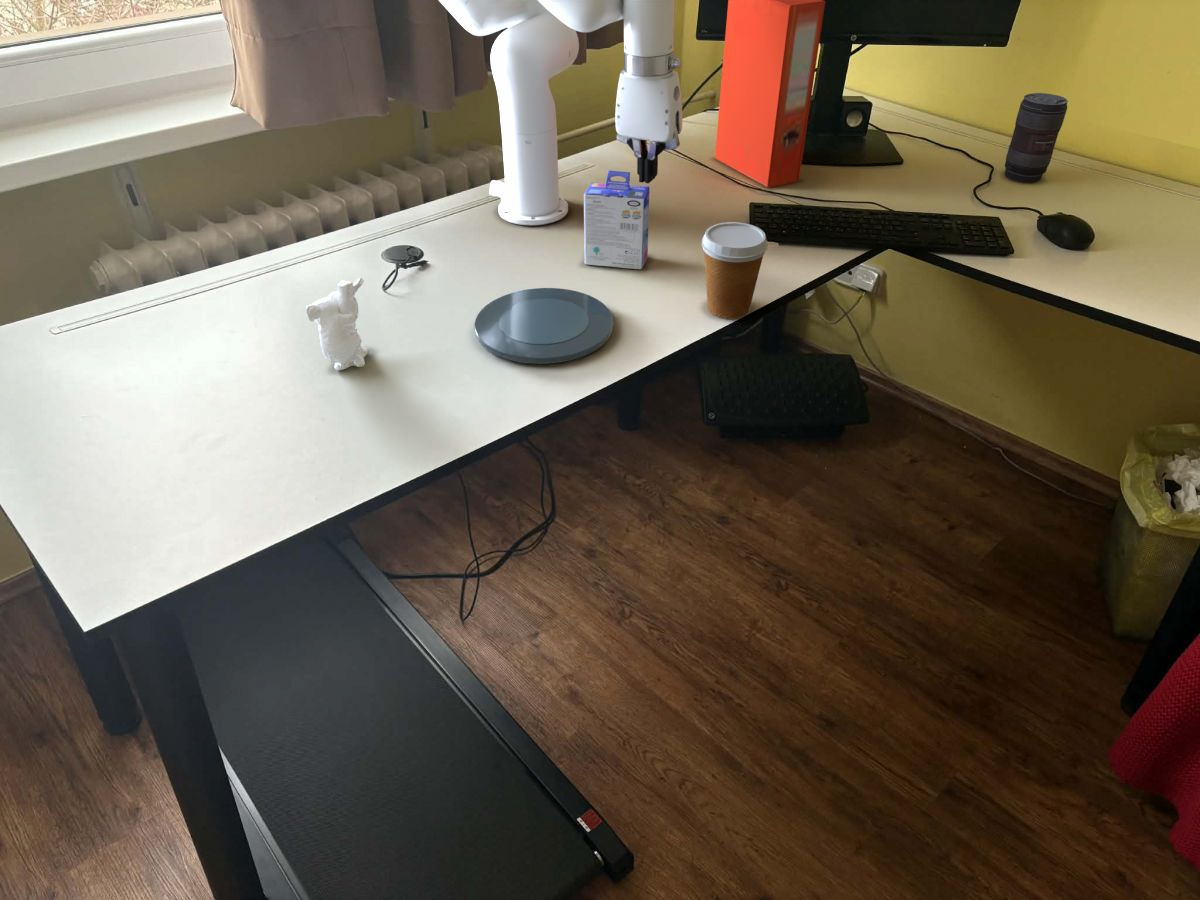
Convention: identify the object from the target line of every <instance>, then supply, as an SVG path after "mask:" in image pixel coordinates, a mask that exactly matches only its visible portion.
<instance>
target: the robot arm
mask: <svg viewBox="0 0 1200 900" xmlns="http://www.w3.org/2000/svg"><path fill="white" fill-rule="evenodd" d="M438 2H439V3H440V4H441V5H442V6H443V7H444V8H445V10H447V12H448V13H449V14H450V15H451V16H452V17H453V18H454V19H455V20H456V22H457V23H458V24H459V25H460V26H461V27H462V28H463V29H464V30H466V32H468V33H470V34H471V35H473V36H476V37H485V36H489V35H492V34H495V33H497V32H499V31H502V30H503V31H502V32H501V33H500V34H499V35H498V36H497V37H496V39H495V40H494V43H493V44H492V47H491V51H490V69H491V72H492V77H493V81H494V84H495V88H496V94H497V99H498V106H499V117H500V118H499V119H500V120H499V121H500V129H501V140H502V141H501V142H502V143H501V144H502V156H503V171H504V182H503V181H501V180H495V179H492V180H491V181H490V184H489V190H488V194H489V196H492V197H499V199H500V202H499V204H498V209H497V210H498V215H499V216H500V217H501V218H502V219H503V220H504V221H506V222H509V223H510V224H511V223H512V224H515V225H521V226H542V225H548V224H552V223H555V222H557V221H560V220H562V219H563V218H564V217H565V216H566V215H567V214H568V212H569V203H568V202H567V200H565V198H563V197H561V196H560V185H559V184H560V182H559V180H560V178H559V155H558V154H559V152H558V151H559V150H558V125H557V124H558V123H557V109H556V103H555V100H554V97H553V93H552V92H551V88H550V85H549V80H550V79H552V78H553V77H555V76H557V75H558V74H561V73H563V72H565V71H566V70H567V69H568V68H570V67H571V66H572V65H573V64H574V62H575V60H576V59H577V57H578V55H579V49H580V41H579V37H578V34H577V32H580V33H592V32H594V31H597V30H599V29H601V28H603V27H605V26H607V25H609V24H612V23H615V22H618V21H621V20H623V69H622V70H621V71H620V74H619V78H618V82H617V83H618V84H617V89H616V97H615V98H616V101H615V115H614V118H615V131H616V136H615V138H616V141H618V142H620V143H622V144H625V145H627V146H628V147H629V148H630V149H631V150H632V152H633V155H634V157H635V158H636V173H637V175H638V182H639V183H642V184H643V183H645V184H650V183H651V182H652V181H654V180H655V179H656V177H657V176H658V172H659V171H658V170H659V155H660V154H662V153H663V152H664V151H669V150H676V149H677V148H678V147H680V145H681V142H680V136H679V135H680V134H681V133H682V130H683V101H682V91H681V90H682V89H681V83H680V77H679V73H678V71H674V70H675V69H681V66H682V59H681V58H678V57H676V56H675V51H674V39H675V37H674V36H675V35H674V33H675V2H676V1H675V0H438ZM648 141H649V143H648Z"/></svg>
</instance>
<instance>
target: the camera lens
mask: <svg viewBox="0 0 1200 900" xmlns="http://www.w3.org/2000/svg"><path fill="white" fill-rule="evenodd" d="M1068 102H1069V101H1068V99H1067V98H1066V97H1064V96H1061V95H1057V94H1052V93H1047V92H1046V93H1044V92H1032V93H1028V94H1025V95H1024V96H1023V99H1022V101H1021V102H1020V103H1019V109H1018V111H1017V115H1016V119H1015V122H1014V123H1015V125H1014V130H1013V133H1012V135H1011V140H1010V143H1009V146H1008V149H1007V152H1006V157H1005V163H1004V169H1005V170H1004V176H1005V178H1007V179H1008V180H1010V181H1012V182H1016V183H1020V184H1036V183H1039V182H1040V181H1041V180H1042V178H1043V176H1044V174H1045V173H1046V172H1047V171H1048V167H1049V166H1050V163H1051V160H1052V157H1053V154H1054V150H1055V146H1056V143H1057V139H1058V136H1059V133H1060V131H1061V129H1062V126H1063V123H1064V120H1065V117H1066V114H1067V111H1068Z"/></svg>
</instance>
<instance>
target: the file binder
mask: <svg viewBox="0 0 1200 900" xmlns="http://www.w3.org/2000/svg"><path fill="white" fill-rule="evenodd" d="M825 7H826V1H825V0H728V2H727V13H726V23H725V24H726V25H725V36H724V46H723V47H724V49H723V59H722V69H721V71H722V72H721V82H720V92H719V94H720V95H719V103H718V117H717V128H716V139H715V141H716V142H715V151H714V152H715V153H714V159H715V160H717V161H719V162H720V163H723V164H724V165H726V166H728V167H730V168H732V169H733V170H735V171H737V172H739V173H741V174H743V175H744V176H746V177H748V178H750V179H752V180H754V181H755V182H757V183H759V184H760V185H762V186H764V187H766V188H770V189H771V188H775V187H778V186H782V185H787V184H791V183H796V182H799V180H800V176H801V168H802V163H803V156H804V150H805V143H806V135H807V130H808V121H809V116H810V108H811V101H812V94H813V89H814V81H815V74H816V67H817V60H818V54H819V47H820V40H821V32H822V27H823V20H824V12H825Z"/></svg>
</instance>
